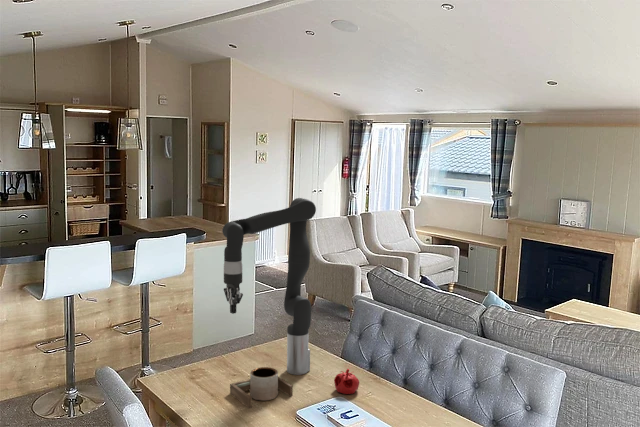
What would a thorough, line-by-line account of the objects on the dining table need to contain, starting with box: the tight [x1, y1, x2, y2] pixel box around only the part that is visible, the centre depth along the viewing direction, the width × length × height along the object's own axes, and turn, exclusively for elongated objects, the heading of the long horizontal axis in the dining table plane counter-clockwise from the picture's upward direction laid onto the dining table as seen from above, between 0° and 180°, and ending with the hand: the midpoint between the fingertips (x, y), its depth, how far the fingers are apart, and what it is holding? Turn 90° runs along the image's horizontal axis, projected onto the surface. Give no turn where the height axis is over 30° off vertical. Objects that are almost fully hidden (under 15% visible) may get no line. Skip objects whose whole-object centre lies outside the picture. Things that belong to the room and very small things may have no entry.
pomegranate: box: [333, 368, 360, 395], centre depth 227 cm, size 10×10×9 cm
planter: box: [249, 366, 279, 402], centre depth 221 cm, size 11×11×10 cm
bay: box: [229, 376, 294, 409], centre depth 223 cm, size 19×15×4 cm
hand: (233, 312), depth 232 cm, fingers closed
